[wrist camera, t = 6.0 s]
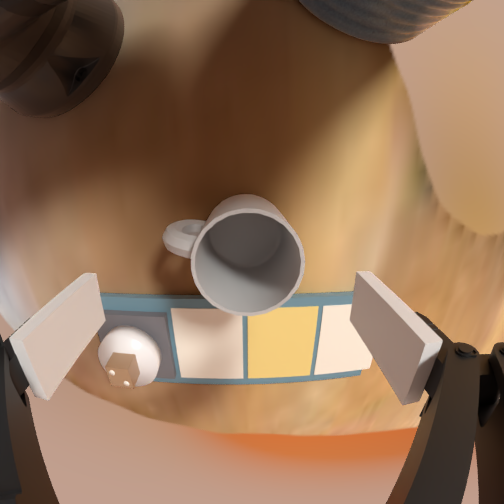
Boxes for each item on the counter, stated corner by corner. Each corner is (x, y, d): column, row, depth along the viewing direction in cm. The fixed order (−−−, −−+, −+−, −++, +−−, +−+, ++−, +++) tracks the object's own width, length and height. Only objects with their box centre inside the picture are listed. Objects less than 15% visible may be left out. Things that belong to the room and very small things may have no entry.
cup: (275, 275, 28) (290, 322, 20) (172, 257, 28) (145, 298, 19) (292, 201, 26) (317, 220, 18) (182, 181, 25) (155, 191, 17)
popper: (98, 323, 27) (80, 347, 22) (156, 327, 27) (144, 354, 23) (112, 371, 29) (99, 397, 24) (165, 376, 29) (157, 405, 25)
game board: (93, 292, 28) (85, 300, 26) (383, 289, 29) (390, 297, 28) (114, 372, 32) (109, 381, 30) (365, 369, 33) (370, 379, 31)
